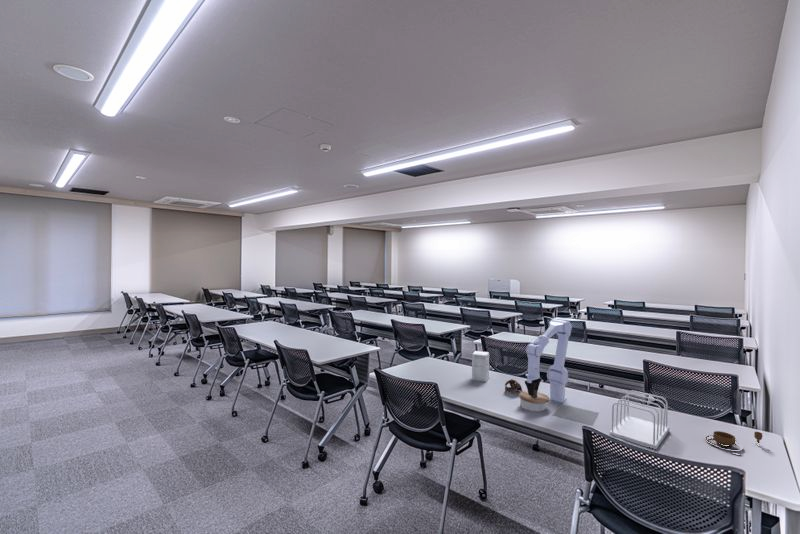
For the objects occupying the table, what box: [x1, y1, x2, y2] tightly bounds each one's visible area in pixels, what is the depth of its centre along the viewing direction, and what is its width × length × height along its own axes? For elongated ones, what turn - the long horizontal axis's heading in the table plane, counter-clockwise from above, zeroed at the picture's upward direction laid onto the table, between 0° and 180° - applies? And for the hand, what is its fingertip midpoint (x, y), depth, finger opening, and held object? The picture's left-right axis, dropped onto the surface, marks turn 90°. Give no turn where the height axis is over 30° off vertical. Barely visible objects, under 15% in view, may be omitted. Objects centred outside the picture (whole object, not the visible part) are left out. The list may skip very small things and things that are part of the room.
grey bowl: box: [519, 398, 547, 412], centre depth 194 cm, size 12×12×5 cm
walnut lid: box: [518, 390, 550, 404], centre depth 193 cm, size 15×15×4 cm
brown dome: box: [504, 379, 523, 393], centre depth 216 cm, size 12×10×8 cm
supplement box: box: [471, 350, 490, 382], centre depth 238 cm, size 10×9×17 cm
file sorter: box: [609, 390, 670, 450], centre depth 166 cm, size 25×17×16 cm
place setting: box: [705, 430, 763, 447], centre depth 155 cm, size 18×20×6 cm
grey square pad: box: [552, 403, 600, 426], centre depth 185 cm, size 18×18×1 cm
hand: (533, 393), depth 193 cm, fingers open, 7 cm apart
